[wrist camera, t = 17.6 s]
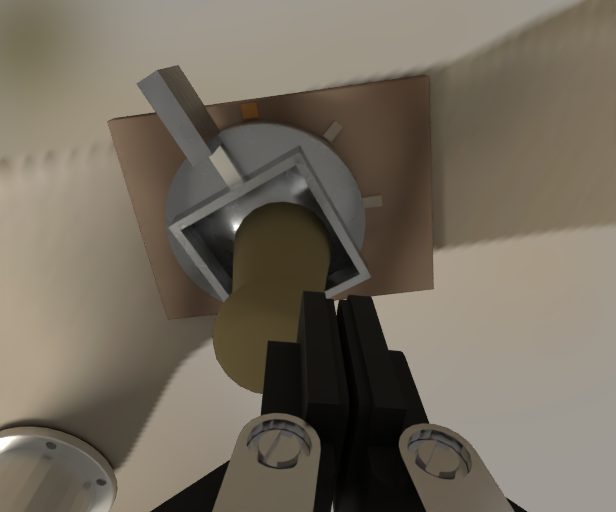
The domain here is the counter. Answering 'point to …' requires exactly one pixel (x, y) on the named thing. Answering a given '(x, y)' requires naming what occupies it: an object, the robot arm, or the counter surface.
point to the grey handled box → (249, 186)
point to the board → (352, 147)
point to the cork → (269, 286)
